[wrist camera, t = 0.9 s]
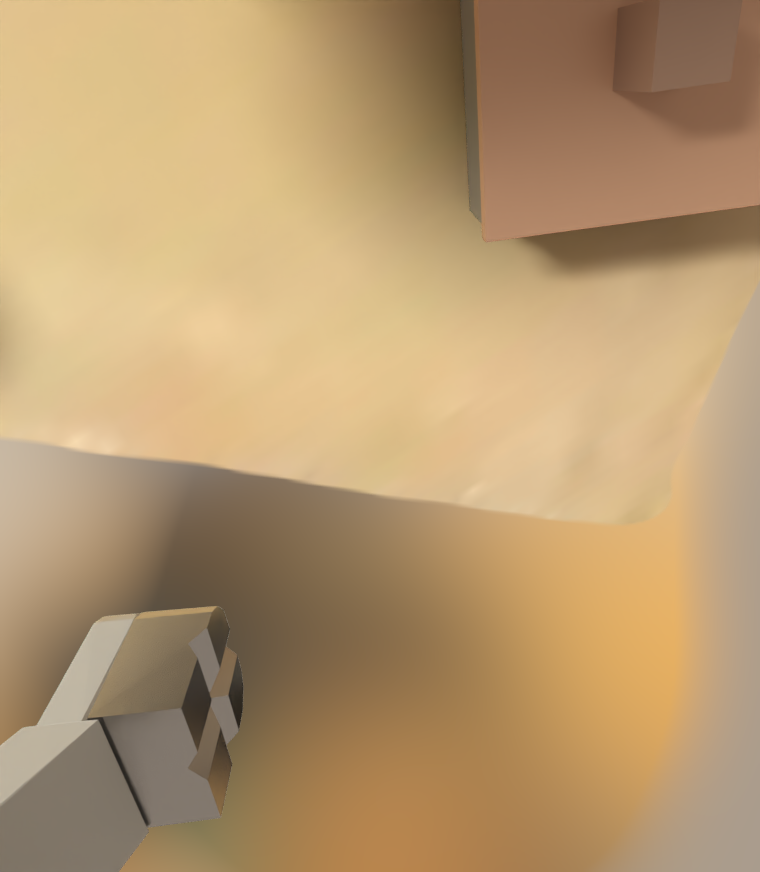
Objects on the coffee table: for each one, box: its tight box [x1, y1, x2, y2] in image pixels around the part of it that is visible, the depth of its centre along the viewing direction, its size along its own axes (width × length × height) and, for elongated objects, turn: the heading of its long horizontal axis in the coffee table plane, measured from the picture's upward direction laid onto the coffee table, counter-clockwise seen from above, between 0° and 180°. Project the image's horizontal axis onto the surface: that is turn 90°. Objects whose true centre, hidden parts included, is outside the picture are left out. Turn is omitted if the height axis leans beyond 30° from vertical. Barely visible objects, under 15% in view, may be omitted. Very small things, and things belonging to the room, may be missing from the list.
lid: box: [474, 0, 760, 242], centre depth 24 cm, size 15×15×5 cm
